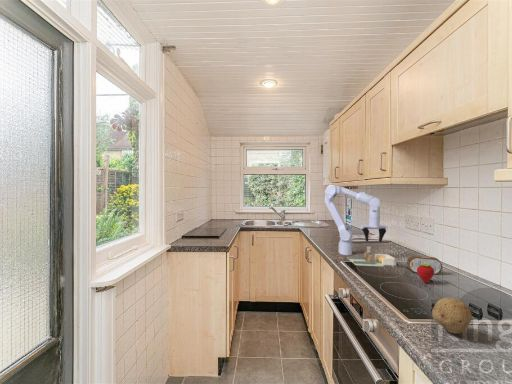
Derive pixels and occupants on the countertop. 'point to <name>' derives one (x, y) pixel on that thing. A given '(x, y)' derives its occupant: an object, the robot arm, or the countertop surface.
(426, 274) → the strawberry
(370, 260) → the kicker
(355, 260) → the pitch
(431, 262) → the tin
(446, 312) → the brown lumpy oval
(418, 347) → the countertop surface
